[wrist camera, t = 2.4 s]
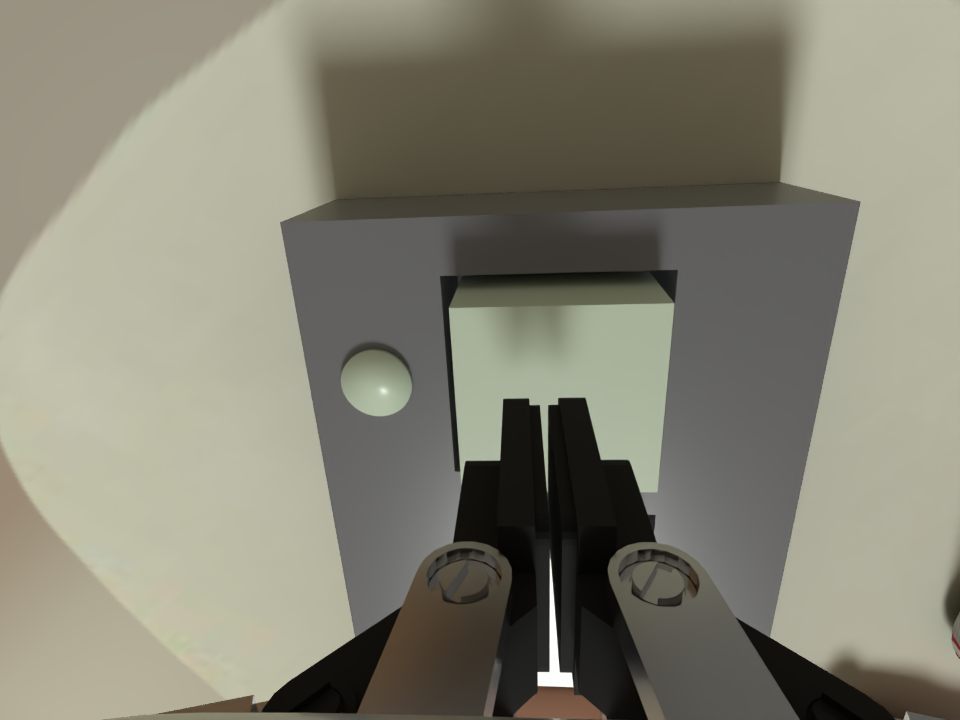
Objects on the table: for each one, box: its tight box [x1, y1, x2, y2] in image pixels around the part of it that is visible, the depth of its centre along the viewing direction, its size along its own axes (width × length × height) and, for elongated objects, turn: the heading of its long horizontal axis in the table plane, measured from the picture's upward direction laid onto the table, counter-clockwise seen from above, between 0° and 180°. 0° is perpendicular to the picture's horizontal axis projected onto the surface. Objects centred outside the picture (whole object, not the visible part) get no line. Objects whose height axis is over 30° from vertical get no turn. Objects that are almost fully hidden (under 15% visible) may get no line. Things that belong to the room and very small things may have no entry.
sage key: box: [449, 271, 675, 492], centre depth 15 cm, size 5×5×3 cm
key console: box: [280, 182, 860, 637], centre depth 20 cm, size 14×24×5 cm, turn 3°
